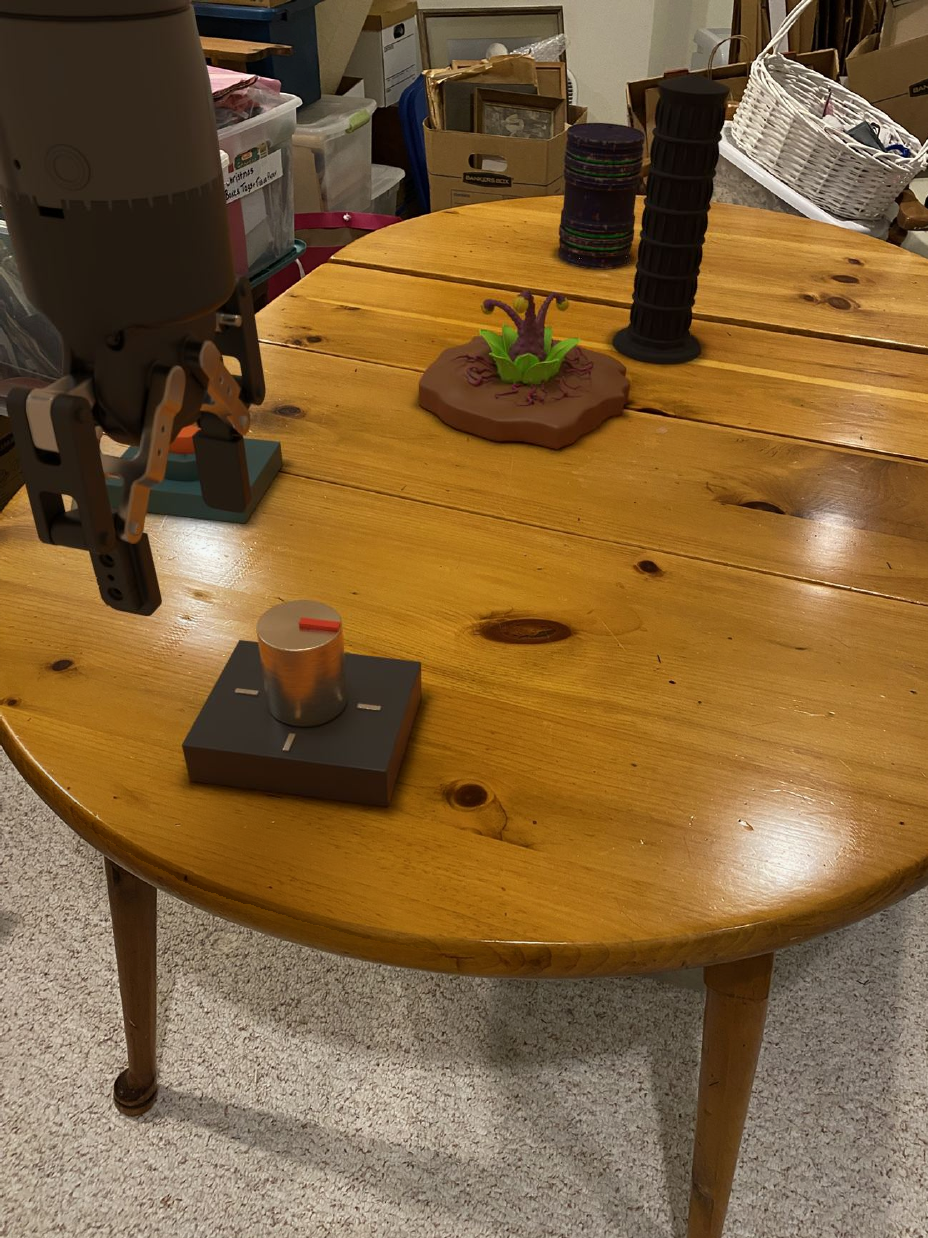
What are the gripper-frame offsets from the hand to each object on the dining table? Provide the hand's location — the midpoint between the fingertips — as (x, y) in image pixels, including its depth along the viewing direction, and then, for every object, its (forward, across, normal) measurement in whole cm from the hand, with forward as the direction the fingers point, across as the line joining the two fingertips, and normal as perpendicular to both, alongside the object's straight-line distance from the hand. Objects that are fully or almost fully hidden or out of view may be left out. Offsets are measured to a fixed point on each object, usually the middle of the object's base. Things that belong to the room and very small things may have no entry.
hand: (185, 554), depth 46 cm
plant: (+19, -60, +2) cm, 63 cm away
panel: (+19, -8, +1) cm, 20 cm away
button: (+15, -34, -20) cm, 42 cm away
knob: (+16, -8, +1) cm, 18 cm away
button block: (+19, -34, -20) cm, 44 cm away
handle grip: (+19, -78, +13) cm, 82 cm away
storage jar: (+19, -105, 0) cm, 107 cm away
